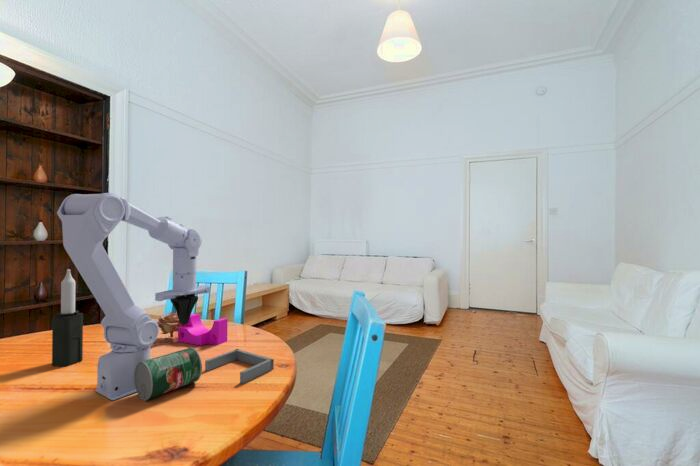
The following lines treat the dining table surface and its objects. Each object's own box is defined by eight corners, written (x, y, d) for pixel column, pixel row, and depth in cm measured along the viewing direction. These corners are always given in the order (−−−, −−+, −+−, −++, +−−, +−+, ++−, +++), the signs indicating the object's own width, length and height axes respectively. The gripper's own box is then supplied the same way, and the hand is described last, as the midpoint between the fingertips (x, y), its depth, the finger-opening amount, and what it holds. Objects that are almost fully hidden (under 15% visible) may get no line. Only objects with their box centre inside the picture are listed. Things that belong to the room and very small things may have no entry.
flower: (157, 335, 112) (158, 311, 112) (188, 332, 116) (188, 309, 116) (154, 343, 103) (154, 318, 103) (186, 340, 107) (186, 315, 107)
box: (242, 383, 77) (243, 373, 77) (205, 370, 84) (205, 360, 84) (273, 368, 86) (273, 359, 86) (236, 357, 93) (237, 348, 93)
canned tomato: (184, 344, 80) (134, 357, 72) (202, 351, 76) (150, 366, 67) (184, 376, 80) (134, 394, 71) (202, 385, 76) (150, 405, 67)
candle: (65, 367, 85) (66, 270, 85) (49, 365, 86) (50, 269, 86) (84, 359, 90) (85, 268, 90) (69, 358, 91) (70, 267, 91)
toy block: (177, 341, 107) (178, 317, 107) (193, 335, 113) (194, 313, 113) (212, 347, 101) (212, 323, 101) (227, 342, 107) (227, 318, 107)
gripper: (166, 277, 81) (165, 332, 81) (217, 271, 94) (216, 319, 94) (150, 275, 85) (150, 327, 85) (201, 270, 98) (201, 316, 98)
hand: (184, 323), depth 90 cm, fingers closed
